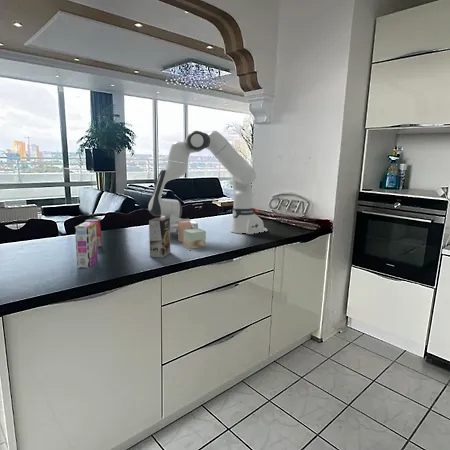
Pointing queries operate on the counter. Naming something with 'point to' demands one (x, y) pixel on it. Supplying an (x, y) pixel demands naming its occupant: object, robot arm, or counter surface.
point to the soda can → (97, 230)
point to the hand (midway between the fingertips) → (185, 229)
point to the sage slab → (194, 234)
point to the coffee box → (159, 237)
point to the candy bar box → (86, 244)
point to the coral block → (181, 227)
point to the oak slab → (193, 243)
